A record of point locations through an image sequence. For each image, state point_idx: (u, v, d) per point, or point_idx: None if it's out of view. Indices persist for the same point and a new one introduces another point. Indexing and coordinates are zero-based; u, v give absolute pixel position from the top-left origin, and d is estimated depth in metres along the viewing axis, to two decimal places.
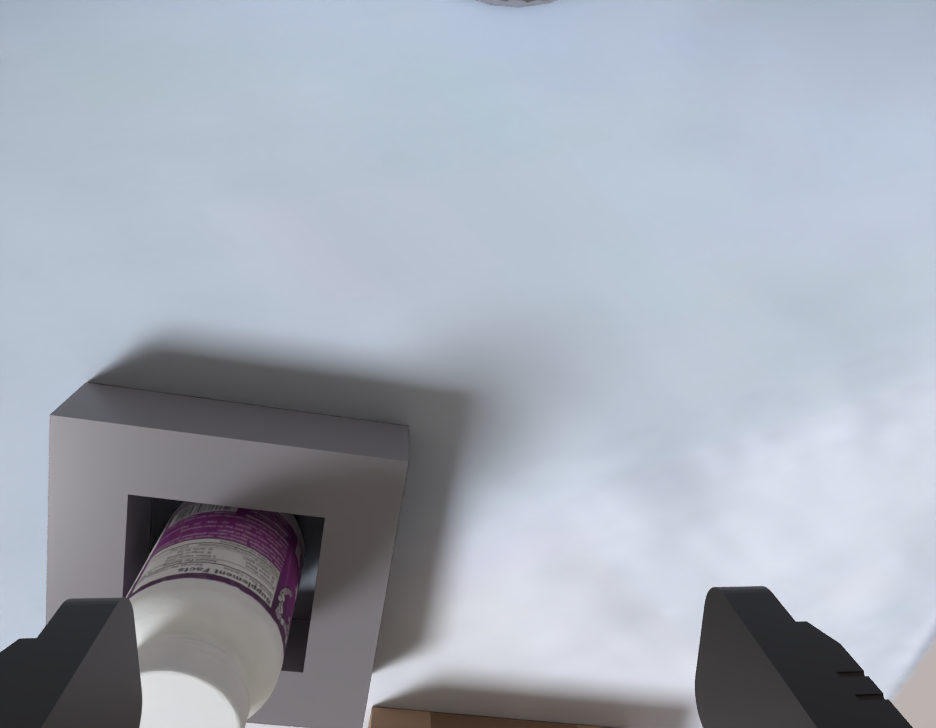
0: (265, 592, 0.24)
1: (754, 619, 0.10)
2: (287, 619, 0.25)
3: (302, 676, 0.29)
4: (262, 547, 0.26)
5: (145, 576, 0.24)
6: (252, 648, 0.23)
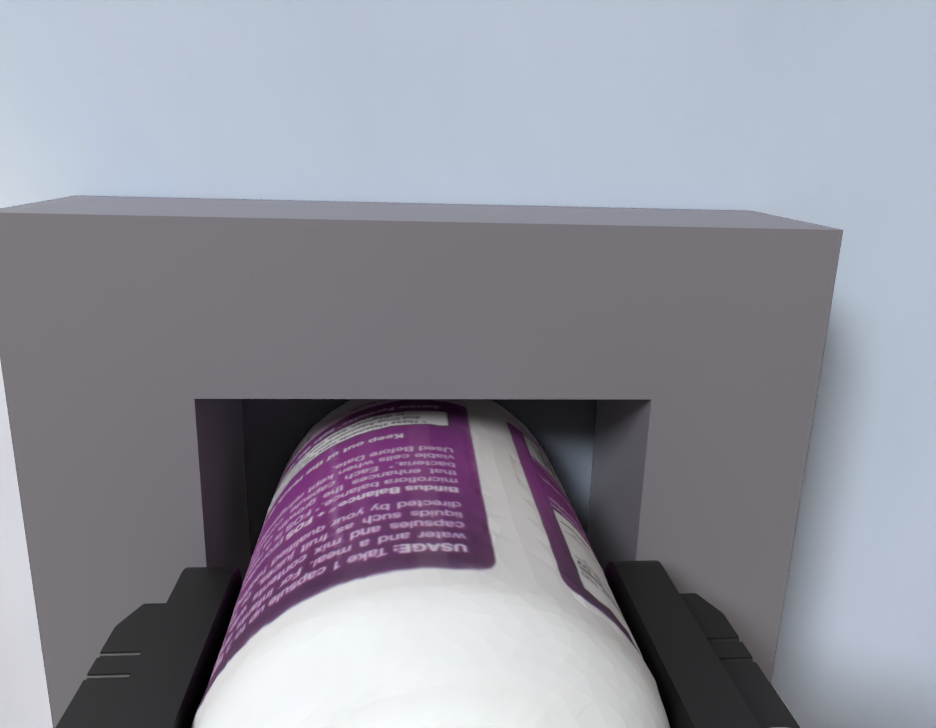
0: None
1: (639, 589, 0.10)
2: None
3: None
4: None
5: (594, 577, 0.09)
6: None
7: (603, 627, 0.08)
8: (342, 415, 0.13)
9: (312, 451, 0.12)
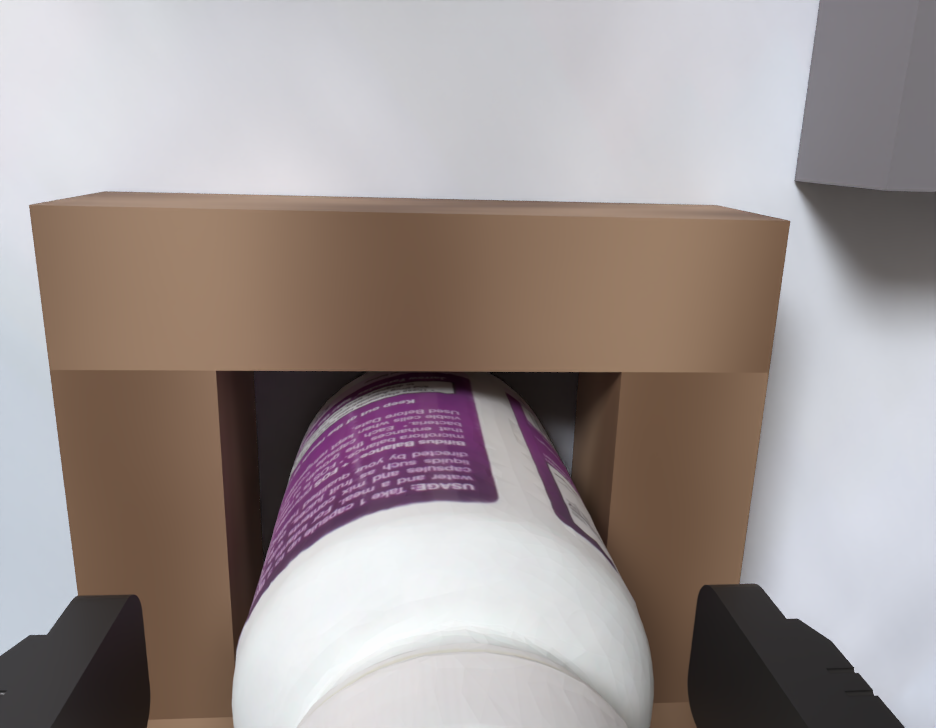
0: None
1: (745, 616, 0.10)
2: None
3: None
4: None
5: (583, 517, 0.11)
6: None
7: (590, 553, 0.09)
8: (357, 386, 0.14)
9: (331, 417, 0.14)
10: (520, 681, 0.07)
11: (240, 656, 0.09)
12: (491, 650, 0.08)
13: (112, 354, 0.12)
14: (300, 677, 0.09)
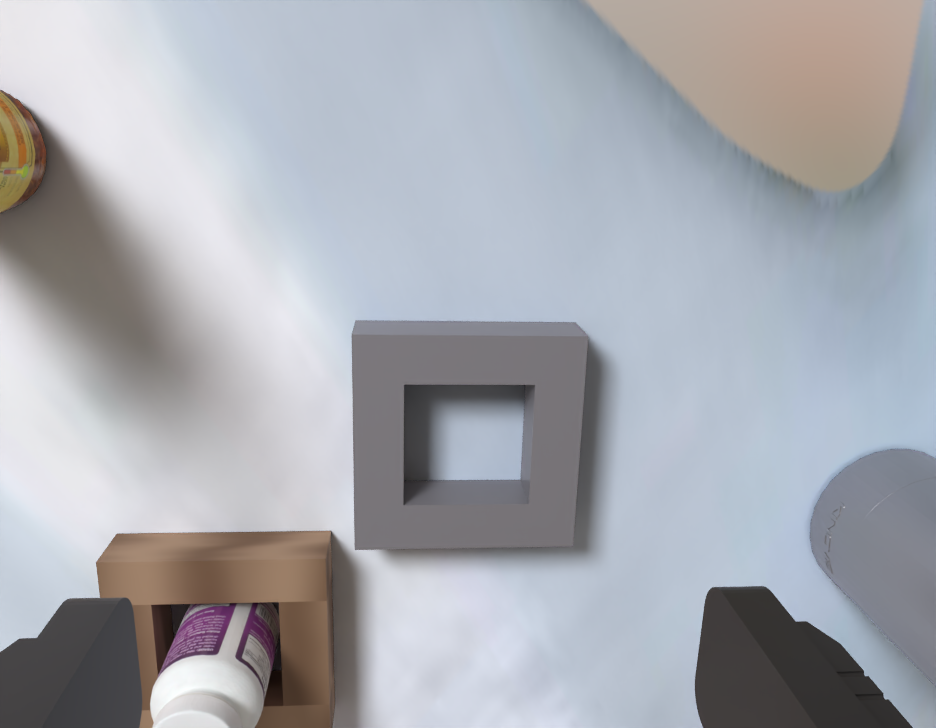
0: None
1: (754, 619, 0.10)
2: None
3: (399, 505, 0.40)
4: None
5: (249, 654, 0.39)
6: None
7: (240, 667, 0.38)
8: None
9: (191, 612, 0.42)
10: (205, 700, 0.35)
11: (152, 693, 0.37)
12: (202, 693, 0.36)
13: None
14: (164, 698, 0.37)
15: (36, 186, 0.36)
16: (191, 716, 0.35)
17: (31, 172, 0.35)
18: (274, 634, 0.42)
